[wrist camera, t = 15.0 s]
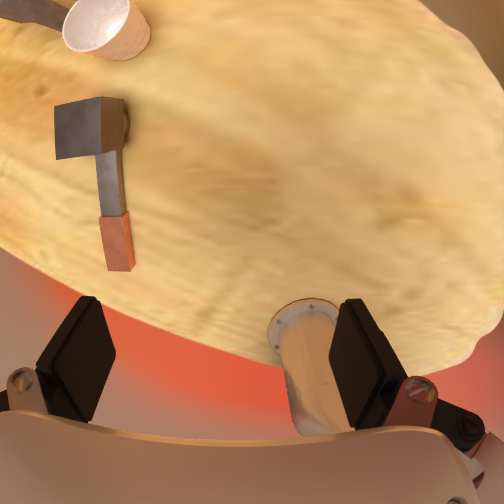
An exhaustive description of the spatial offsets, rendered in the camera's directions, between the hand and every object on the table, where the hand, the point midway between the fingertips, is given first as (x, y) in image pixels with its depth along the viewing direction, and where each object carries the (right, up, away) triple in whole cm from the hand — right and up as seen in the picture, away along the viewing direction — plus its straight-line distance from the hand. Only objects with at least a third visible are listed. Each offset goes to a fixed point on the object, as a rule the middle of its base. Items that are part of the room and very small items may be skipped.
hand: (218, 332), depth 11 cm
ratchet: (-17, +12, +25) cm, 33 cm away
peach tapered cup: (-15, +30, +17) cm, 38 cm away
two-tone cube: (-17, +18, +19) cm, 31 cm away
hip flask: (-29, +38, +12) cm, 49 cm away
